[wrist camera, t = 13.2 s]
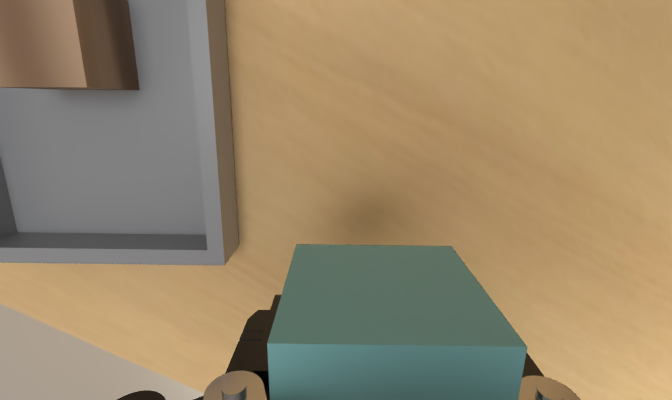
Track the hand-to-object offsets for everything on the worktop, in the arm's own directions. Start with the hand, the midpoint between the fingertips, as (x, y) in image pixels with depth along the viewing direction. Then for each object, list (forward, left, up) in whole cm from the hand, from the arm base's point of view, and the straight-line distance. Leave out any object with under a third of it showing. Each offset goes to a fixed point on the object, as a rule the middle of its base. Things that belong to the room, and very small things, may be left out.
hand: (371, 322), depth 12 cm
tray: (+16, -6, -14) cm, 22 cm away
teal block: (0, 0, 0) cm, 0 cm away
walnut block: (+16, -10, -13) cm, 23 cm away
